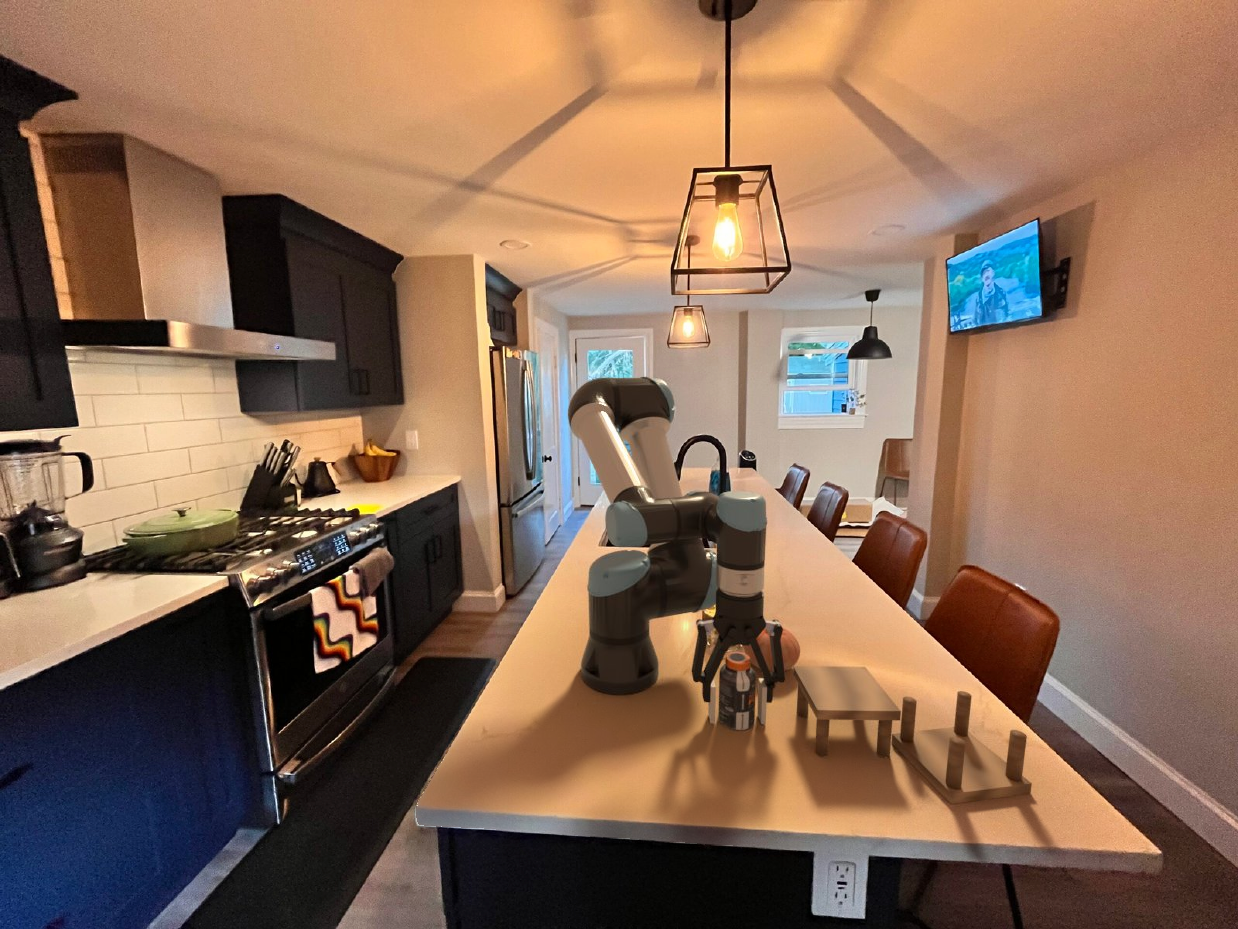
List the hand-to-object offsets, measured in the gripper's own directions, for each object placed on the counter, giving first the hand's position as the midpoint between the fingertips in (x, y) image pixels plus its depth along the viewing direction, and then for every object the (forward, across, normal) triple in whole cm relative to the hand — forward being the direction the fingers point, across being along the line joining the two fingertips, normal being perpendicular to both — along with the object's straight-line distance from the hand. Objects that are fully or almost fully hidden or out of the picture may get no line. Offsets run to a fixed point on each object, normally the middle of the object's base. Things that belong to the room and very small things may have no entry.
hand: (736, 718), depth 86 cm
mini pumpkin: (+1, +10, +17) cm, 20 cm away
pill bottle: (0, 0, 0) cm, 0 cm away
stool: (0, +16, -3) cm, 16 cm away
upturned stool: (0, +30, -10) cm, 32 cm away
